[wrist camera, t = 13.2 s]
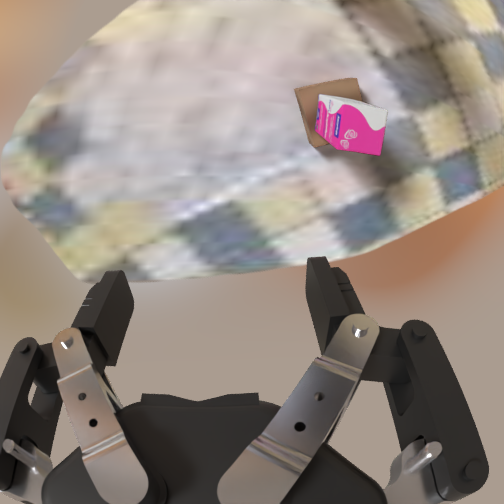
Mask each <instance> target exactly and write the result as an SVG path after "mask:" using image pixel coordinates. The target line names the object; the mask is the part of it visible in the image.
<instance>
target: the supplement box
mask: <svg viewBox="0 0 504 504" xmlns="http://www.w3.org/2000/svg"><path fill="white" fill-rule="evenodd" d="M387 114H388V110H386V109H383V108H380V107H377V106H374V105H371V104H367V103H364V102H361V101H357V100H353V99H348V98H343V97H337V96H331V95H324V94H319V95H318V109H317V118H316V125H315V131H316V132H317V133H318V134H319V135H321V136H322V137H323V138H324V139H325V140H327V141H328V142H329V143H330V144H331V145H332V146H333V147H335V148H336V149H337V150H345V151H352V152H358V153H364V154H370V155H376V156H380V154H381V150H382V145H383V139H384V134H385V128H386V121H387Z"/></svg>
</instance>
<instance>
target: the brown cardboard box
mask: <svg viewBox="0 0 504 504" xmlns="http://www.w3.org/2000/svg"><path fill="white" fill-rule="evenodd" d="M294 90H295V94H296V97H297V101H298V104H299V108H300V111H301V115H302V118H303V122H304V126H305V129H306V133H307V137H308V141H309V143H310V144H311V145H312V146H313V147H314V148H315V147H319V146H323V145H327V144H330V143H329V142H328V141H327V140H325V139H324V138H323V137H322V136H321V135H319V134H318V133H317V132H316V131H315V125H316V118H317V109H318V95H319V94H324V95H331V96H337V97H343V98H348V99H353V100H357V101H361V102H362V98H361V93H360V89H359V85H358V81H357V78H345V79H339V80H334V81H328V82H323V83H319V84H314V85H309V86H305V87H300V88H296V89H294Z"/></svg>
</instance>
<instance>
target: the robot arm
mask: <svg viewBox="0 0 504 504" xmlns="http://www.w3.org/2000/svg"><path fill="white" fill-rule="evenodd" d="M306 299H307V303H308V307H309V310H310V313H311V317H312V321H313V325H314V328H315V332H316V336H317V339H318V343H319V347H320V350H321V355H322V356H321V357H320V358H318V357H317V358H315V360H314V361H313V362H312V364H311V365H310V367H309V368H308V370H307V371H306V373H305V374H304V376H303V377H302V379H301V380H300V382H299V383H298V385H297V386H296V387H295V389H294V390H293V392H292V393H291V395H290V396H289V398H288V399H287V400H286V402H285V403H284V404H283V406H282V407H280V406H278V405H275V404H273V403H269V402H265V401H259V396H258V393H244V394H227V395H224V396H220V397H216V398H211V399H207V400H203V401H192V400H188V399H184V398H180V397H176V396H172V395H165V394H142V397H141V402H137V403H134V404H131V405H128V406H126V407H123V405H122V404H121V402H120V400H119V398H118V396H117V395H116V393H115V391H114V389H113V387H112V385H111V383H110V381H109V379H108V377H107V375H106V373H105V372H104V369H105V366H116V363H117V359H118V356H119V353H120V350H121V346H122V343H123V340H124V337H125V334H126V331H127V328H128V325H129V321H130V318H131V316H132V313H133V309H134V300H133V296H132V293H131V290H130V287H129V285H128V282H127V279H126V276H125V273H124V272H123V271H122V270H117V271H106V272H105V274H104V276H103V278H102V279H101V281H100V283H96V284H95V285H94V286H93V287H92V288H91V289H90V290H89V292H88V294H87V296H86V300H84V302H83V304H82V306H81V308H80V310H79V311H78V314H77V315H76V317H75V319H74V322H73V324H72V326H71V328H66V329H64V330H62V331H60V332H59V333H58V334H57V335H56V336H55V337H54V339H53V342H52V343H48V344H44V345H39V344H38V343H37V341H36V340H35V339H34V338H32V337H27V338H24V339H22V340H20V341H19V342H18V343H17V344H16V346H15V347H14V349H13V351H12V353H11V355H10V358H9V360H8V362H7V364H6V367H5V369H4V371H3V373H2V376H1V378H0V492H1V493H3V494H4V495H6V496H8V497H10V498H13V499H15V500H17V501H21V502H23V503H25V504H451V503H453V502H455V501H457V500H459V499H462V498H464V497H466V496H468V495H470V494H472V493H474V492H476V491H477V490H479V489H480V488H481V487H482V486H483V485H484V484H485V482H486V480H487V478H488V474H489V465H488V461H487V458H486V455H485V451H484V449H483V445H482V442H481V439H480V436H479V434H478V431H477V428H476V425H475V422H474V420H473V417H472V414H471V412H470V409H469V407H468V404H467V401H466V399H465V397H464V394H463V392H462V389H461V387H460V385H459V382H458V380H457V378H456V376H455V373H454V371H453V369H452V367H451V365H450V362H449V360H448V358H447V356H446V354H445V352H444V350H443V348H442V346H441V344H440V342H439V340H438V337H437V336H436V334H435V332H434V330H433V328H432V327H431V326H430V325H429V324H427V323H426V322H423V321H420V320H410V321H407V322H406V323H404V325H403V326H402V328H401V329H392V328H384V327H380V326H378V323H377V322H376V321H375V320H374V319H373V318H371V317H370V316H367V315H365V312H364V310H363V308H362V306H361V304H360V302H359V300H358V298H357V295H356V293H355V291H354V289H353V287H352V285H351V284H350V280H349V278H348V276H347V275H346V273H345V272H343V271H342V270H341V269H340V268H339V267H334V268H331V267H330V265H329V263H328V260H327V258H326V257H325V256H324V257H311V258H308V259H307V272H306ZM361 380H366V381H377V382H383V384H384V388H385V391H386V395H387V398H388V402H389V405H390V409H391V413H392V416H393V420H394V424H395V427H396V431H397V435H398V439H399V444H400V448H401V453H400V454H399V455H398V456H397V457H396V458H395V459H394V460H393V462H392V464H391V468H390V481H389V483H388V485H387V486H386V488H385V489H382V488H381V487H380V485H379V484H378V483H377V482H376V481H375V480H373V479H372V478H371V477H369V476H368V475H367V474H365V473H364V472H363V471H361V470H360V469H359V468H357V467H356V466H355V465H354V464H352V463H351V462H350V461H348V460H347V459H346V458H345V457H343V456H342V455H341V454H340V453H338V452H337V451H336V450H335V449H333V448H332V447H331V446H330V445H328V443H329V441H330V439H331V438H332V436H333V434H334V432H335V431H336V429H337V427H338V425H339V423H340V421H341V419H342V417H343V415H344V413H345V411H346V410H347V408H348V406H349V404H350V402H351V400H352V398H353V396H354V394H355V392H356V390H357V388H358V386H359V384H360V382H361ZM33 382H34V383H35V385H36V386H37V388H36V391H35V394H34V397H33V400H32V403H31V406H30V405H29V402H28V394H29V391H30V388H31V385H32V383H33ZM62 403H64V406H65V409H66V412H67V414H68V417H69V420H70V423H71V425H72V428H73V430H74V433H75V436H76V438H77V440H78V443H79V445H80V446H79V447H78V448H77V449H75V450H74V451H73V452H72V453H71V454H70V455H69V456H68V457H66V458H65V459H64V460H63V461H62V462H61V463H60V464H59V465H57V466H56V467H55V468H54V469H53V465H52V462H51V459H50V454H51V449H52V444H53V440H54V435H55V431H56V426H57V422H58V419H59V415H60V411H61V407H62Z"/></svg>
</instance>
